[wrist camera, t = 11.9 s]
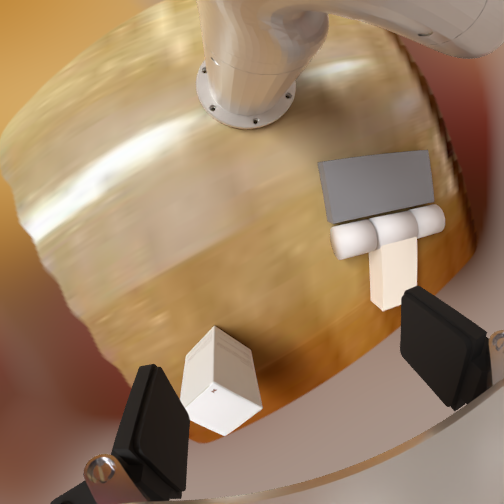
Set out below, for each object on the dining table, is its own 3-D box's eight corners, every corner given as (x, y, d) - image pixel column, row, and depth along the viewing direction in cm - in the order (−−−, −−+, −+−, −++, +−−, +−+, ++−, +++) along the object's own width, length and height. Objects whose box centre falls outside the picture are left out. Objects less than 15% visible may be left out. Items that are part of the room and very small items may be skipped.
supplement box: (184, 354, 40) (175, 413, 28) (214, 323, 39) (213, 380, 27) (222, 378, 42) (224, 438, 30) (253, 350, 41) (264, 408, 29)
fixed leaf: (317, 162, 35) (329, 160, 31) (420, 150, 36) (437, 149, 31) (332, 254, 38) (344, 264, 34) (428, 229, 39) (445, 234, 35)
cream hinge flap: (365, 215, 38) (380, 220, 33) (400, 209, 38) (417, 213, 34) (370, 300, 41) (384, 312, 37) (402, 289, 41) (417, 299, 37)
